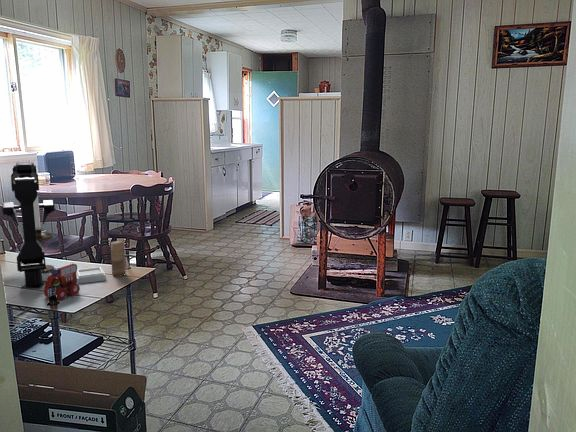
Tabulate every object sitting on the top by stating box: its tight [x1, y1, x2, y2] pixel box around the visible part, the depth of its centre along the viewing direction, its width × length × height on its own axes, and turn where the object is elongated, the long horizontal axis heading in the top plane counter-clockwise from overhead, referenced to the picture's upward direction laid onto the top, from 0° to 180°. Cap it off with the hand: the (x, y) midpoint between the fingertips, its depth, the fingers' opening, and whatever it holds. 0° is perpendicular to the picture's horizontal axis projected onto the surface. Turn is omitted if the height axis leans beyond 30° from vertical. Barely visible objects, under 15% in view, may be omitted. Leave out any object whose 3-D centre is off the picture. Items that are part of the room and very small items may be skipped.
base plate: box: [76, 266, 107, 285], centre depth 180 cm, size 10×10×3 cm
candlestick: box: [22, 194, 55, 274], centre depth 185 cm, size 11×11×35 cm
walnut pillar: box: [110, 240, 127, 277], centre depth 184 cm, size 5×5×13 cm
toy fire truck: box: [43, 263, 81, 301], centre depth 160 cm, size 7×12×10 cm, turn 153°
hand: (30, 224), depth 195 cm, fingers open, 9 cm apart
